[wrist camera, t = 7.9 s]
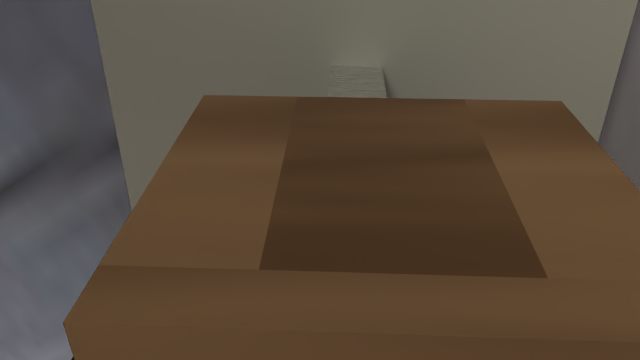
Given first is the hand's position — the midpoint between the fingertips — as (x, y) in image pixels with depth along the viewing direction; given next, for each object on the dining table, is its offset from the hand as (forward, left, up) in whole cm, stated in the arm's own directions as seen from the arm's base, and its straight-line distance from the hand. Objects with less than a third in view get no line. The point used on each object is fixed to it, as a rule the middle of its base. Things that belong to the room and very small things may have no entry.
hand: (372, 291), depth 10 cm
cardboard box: (0, 0, -1) cm, 1 cm away
